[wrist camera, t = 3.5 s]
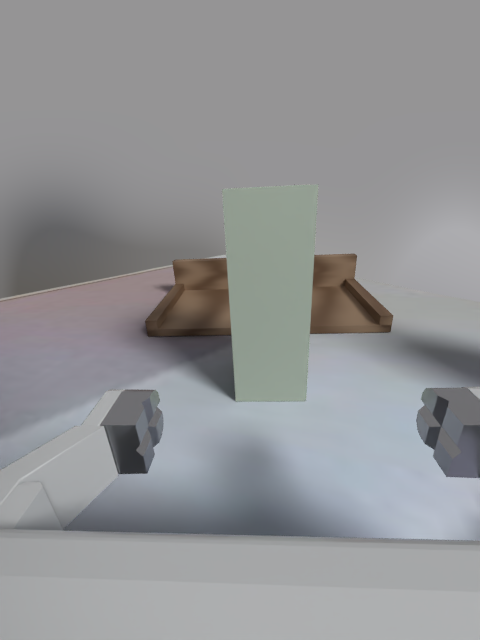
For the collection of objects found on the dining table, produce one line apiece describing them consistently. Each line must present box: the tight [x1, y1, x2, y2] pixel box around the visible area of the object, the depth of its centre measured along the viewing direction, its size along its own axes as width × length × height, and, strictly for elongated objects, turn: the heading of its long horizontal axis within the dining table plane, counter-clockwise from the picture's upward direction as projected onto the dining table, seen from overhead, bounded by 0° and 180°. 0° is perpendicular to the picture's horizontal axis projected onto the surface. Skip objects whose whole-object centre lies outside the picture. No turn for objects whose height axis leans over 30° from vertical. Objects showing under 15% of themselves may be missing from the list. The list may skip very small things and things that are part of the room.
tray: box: [145, 254, 393, 336], centre depth 36 cm, size 25×14×5 cm, turn 87°
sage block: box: [222, 185, 318, 401], centre depth 21 cm, size 5×5×14 cm
